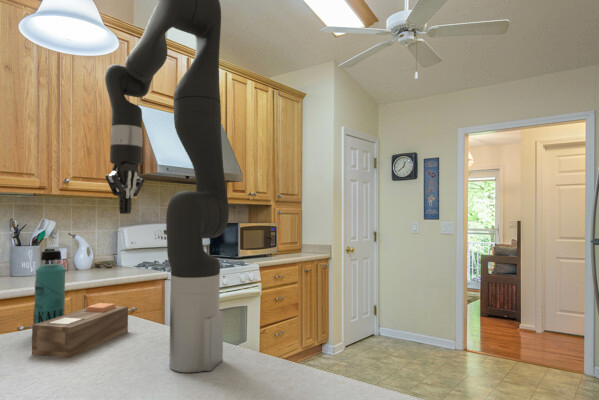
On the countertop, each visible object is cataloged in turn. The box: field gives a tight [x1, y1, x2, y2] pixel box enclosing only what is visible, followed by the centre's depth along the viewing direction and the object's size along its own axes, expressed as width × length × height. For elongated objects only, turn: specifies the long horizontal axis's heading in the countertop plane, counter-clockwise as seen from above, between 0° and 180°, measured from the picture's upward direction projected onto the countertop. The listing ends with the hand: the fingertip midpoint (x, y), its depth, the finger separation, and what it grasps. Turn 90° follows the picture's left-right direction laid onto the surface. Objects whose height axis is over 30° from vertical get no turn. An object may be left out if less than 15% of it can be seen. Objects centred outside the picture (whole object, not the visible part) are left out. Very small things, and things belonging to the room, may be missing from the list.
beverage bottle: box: [32, 249, 66, 325], centre depth 98 cm, size 6×7×20 cm
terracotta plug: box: [86, 302, 116, 313], centre depth 98 cm, size 4×4×5 cm
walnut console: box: [31, 305, 129, 359], centre depth 92 cm, size 9×19×6 cm, turn 169°
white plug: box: [49, 318, 83, 325], centre depth 87 cm, size 4×4×5 cm
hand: (125, 213), depth 103 cm, fingers closed
